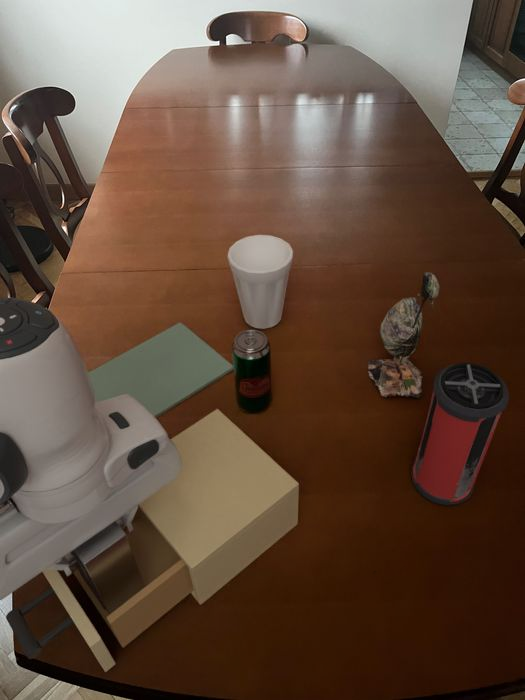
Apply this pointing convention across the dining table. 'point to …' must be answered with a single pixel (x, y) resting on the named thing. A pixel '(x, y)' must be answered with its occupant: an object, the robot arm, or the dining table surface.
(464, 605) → the dining table surface
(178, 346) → the mat
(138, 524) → the drawer
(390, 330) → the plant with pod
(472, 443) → the speaker
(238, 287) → the cup
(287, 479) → the cabinet
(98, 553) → the brushed metal box
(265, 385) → the soda can
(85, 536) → the robot arm
